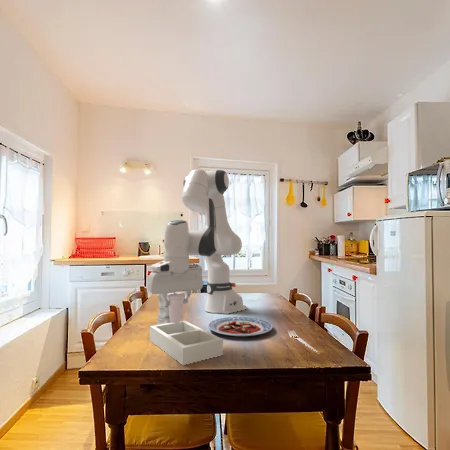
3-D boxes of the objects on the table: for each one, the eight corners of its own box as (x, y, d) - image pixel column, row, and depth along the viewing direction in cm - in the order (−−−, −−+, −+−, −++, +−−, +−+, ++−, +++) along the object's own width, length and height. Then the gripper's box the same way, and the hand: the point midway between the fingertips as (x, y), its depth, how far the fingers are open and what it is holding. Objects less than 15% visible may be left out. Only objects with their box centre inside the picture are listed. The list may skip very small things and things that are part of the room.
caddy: (149, 340, 112) (149, 326, 112) (184, 333, 120) (184, 320, 120) (182, 365, 90) (182, 348, 90) (222, 355, 98) (222, 339, 98)
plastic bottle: (176, 327, 128) (176, 278, 128) (168, 332, 121) (168, 280, 122) (162, 326, 130) (163, 278, 130) (153, 330, 123) (154, 280, 124)
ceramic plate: (254, 345, 108) (254, 337, 108) (195, 333, 121) (195, 325, 121) (282, 327, 130) (282, 320, 130) (229, 318, 143) (229, 312, 143)
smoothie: (167, 318, 114) (168, 280, 114) (184, 318, 114) (185, 280, 114) (165, 324, 107) (166, 283, 107) (184, 324, 108) (185, 284, 108)
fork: (314, 356, 100) (314, 350, 100) (286, 335, 119) (286, 330, 119) (323, 355, 101) (323, 349, 101) (294, 334, 120) (294, 330, 120)
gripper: (197, 263, 120) (197, 299, 119) (146, 265, 108) (145, 306, 108) (206, 264, 115) (205, 302, 114) (153, 267, 103) (152, 309, 103)
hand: (176, 304), depth 111 cm, fingers closed on smoothie, 6 cm apart
